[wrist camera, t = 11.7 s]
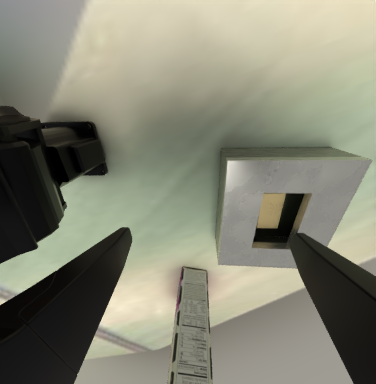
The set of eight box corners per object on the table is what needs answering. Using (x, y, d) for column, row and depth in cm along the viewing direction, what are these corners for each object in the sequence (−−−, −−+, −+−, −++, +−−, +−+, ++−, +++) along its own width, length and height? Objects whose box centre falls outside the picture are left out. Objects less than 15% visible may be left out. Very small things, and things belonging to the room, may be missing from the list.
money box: (215, 237, 25) (218, 264, 21) (221, 148, 19) (227, 160, 14) (294, 240, 24) (315, 269, 20) (330, 147, 18) (372, 160, 13)
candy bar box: (199, 302, 34) (198, 444, 20) (176, 299, 34) (158, 437, 20) (209, 269, 29) (216, 429, 15) (182, 265, 29) (162, 420, 15)
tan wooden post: (250, 214, 23) (256, 228, 20) (254, 182, 21) (262, 193, 18) (268, 214, 23) (277, 228, 20) (275, 182, 20) (286, 193, 18)
